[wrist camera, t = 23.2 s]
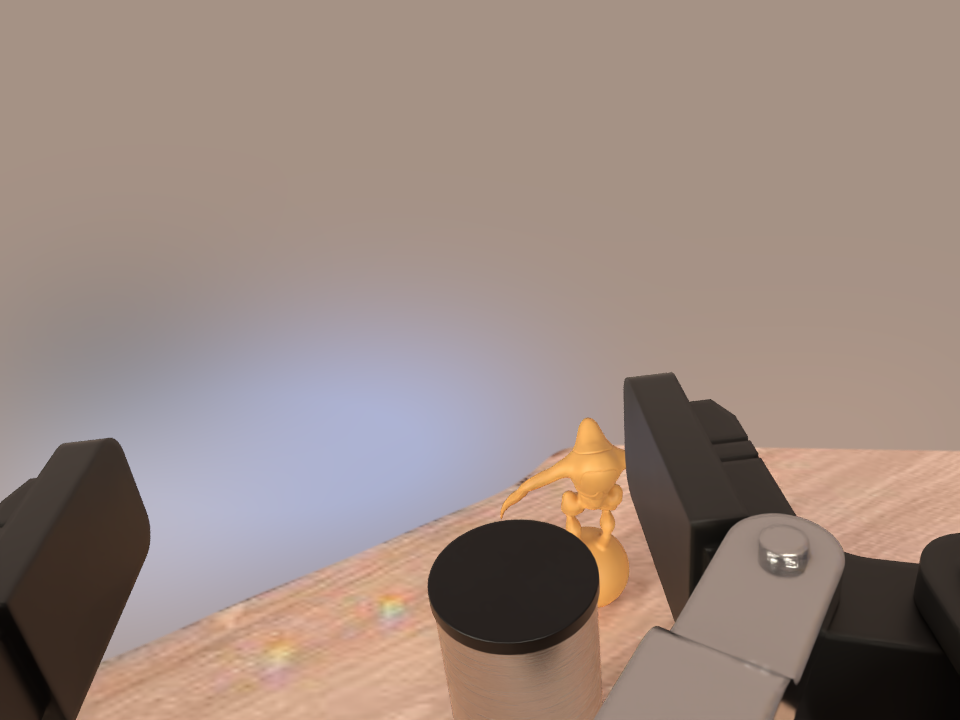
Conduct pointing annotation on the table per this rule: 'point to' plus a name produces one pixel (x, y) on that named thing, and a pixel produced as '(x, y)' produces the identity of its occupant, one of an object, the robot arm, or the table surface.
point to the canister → (519, 623)
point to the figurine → (590, 502)
